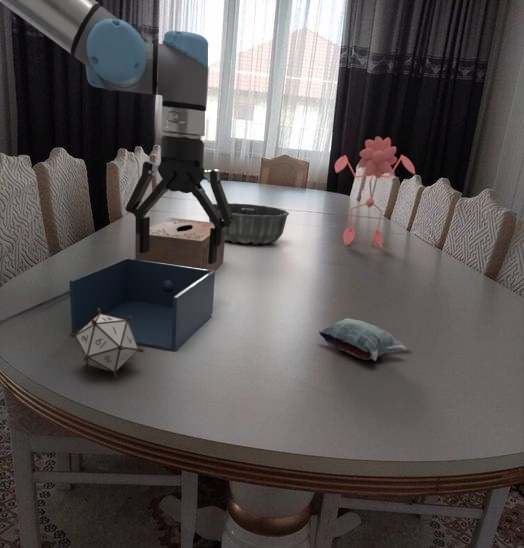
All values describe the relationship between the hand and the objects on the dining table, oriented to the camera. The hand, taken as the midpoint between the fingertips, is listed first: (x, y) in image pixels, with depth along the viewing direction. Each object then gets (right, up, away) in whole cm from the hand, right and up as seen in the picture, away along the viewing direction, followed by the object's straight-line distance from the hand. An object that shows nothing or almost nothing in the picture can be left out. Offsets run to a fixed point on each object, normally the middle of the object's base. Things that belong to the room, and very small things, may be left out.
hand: (177, 257), depth 98 cm
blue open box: (-2, -11, -4) cm, 12 cm away
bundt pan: (+10, +18, +71) cm, 74 cm away
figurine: (+50, +16, +77) cm, 93 cm away
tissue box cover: (-3, +2, +27) cm, 27 cm away
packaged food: (+32, -18, -12) cm, 39 cm away
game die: (-4, -17, -33) cm, 38 cm away
